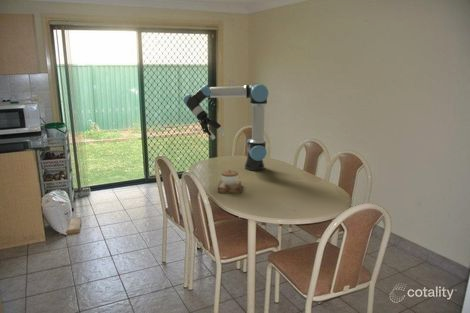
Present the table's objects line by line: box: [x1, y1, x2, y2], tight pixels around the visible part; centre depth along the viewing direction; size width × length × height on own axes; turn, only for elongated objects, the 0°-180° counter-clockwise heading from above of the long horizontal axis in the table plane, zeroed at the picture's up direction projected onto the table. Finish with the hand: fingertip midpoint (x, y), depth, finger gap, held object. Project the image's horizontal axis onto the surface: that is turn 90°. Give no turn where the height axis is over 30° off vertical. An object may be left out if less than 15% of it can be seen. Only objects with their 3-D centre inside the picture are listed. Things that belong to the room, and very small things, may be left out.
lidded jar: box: [220, 169, 239, 186], centre depth 225 cm, size 11×11×9 cm
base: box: [217, 180, 242, 194], centre depth 226 cm, size 14×14×3 cm
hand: (219, 137), depth 240 cm, fingers open, 13 cm apart
